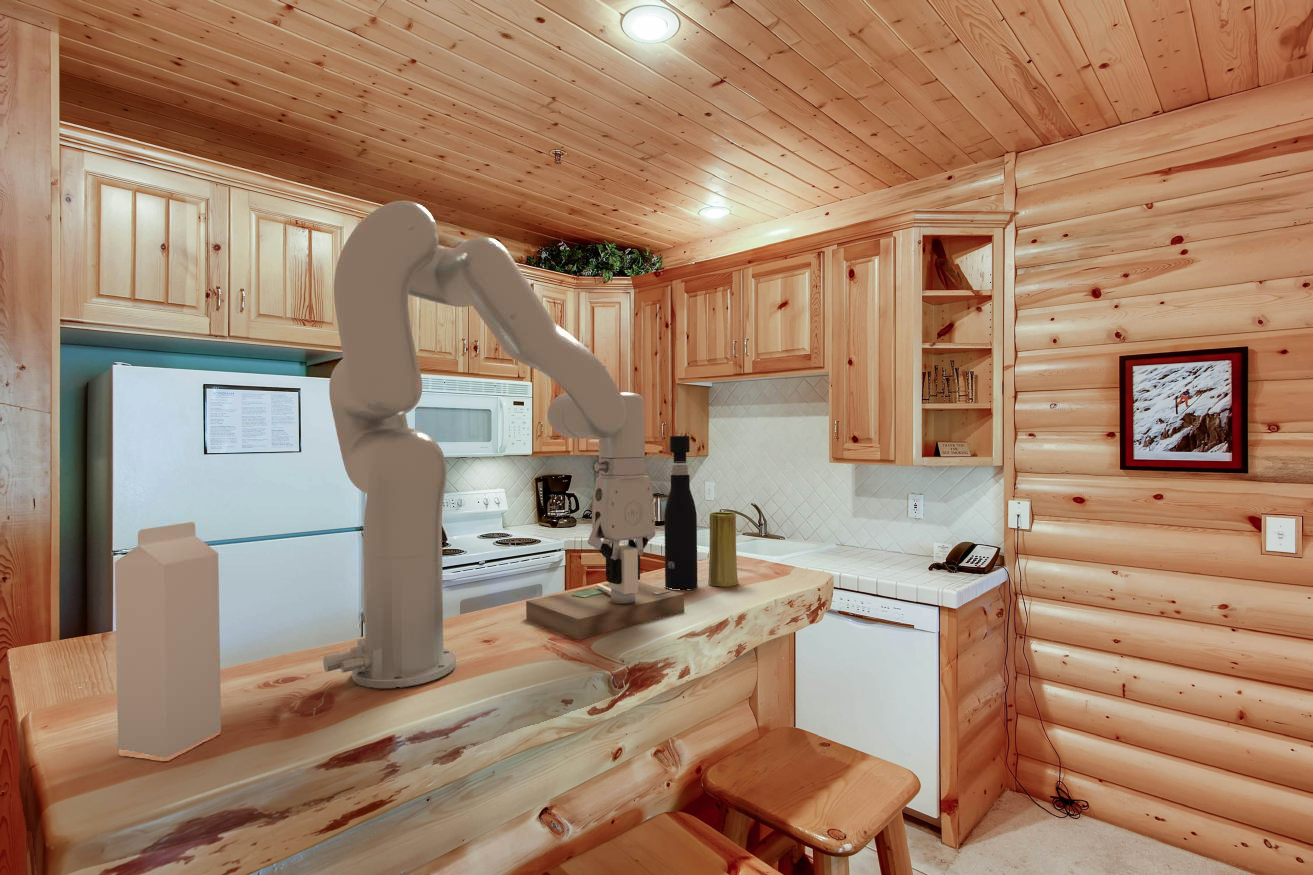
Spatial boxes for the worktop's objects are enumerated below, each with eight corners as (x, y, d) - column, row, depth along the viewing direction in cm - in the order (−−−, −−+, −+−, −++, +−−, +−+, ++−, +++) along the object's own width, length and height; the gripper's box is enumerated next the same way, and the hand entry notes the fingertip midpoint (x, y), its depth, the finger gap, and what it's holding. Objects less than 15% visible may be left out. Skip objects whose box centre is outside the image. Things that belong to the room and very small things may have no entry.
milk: (221, 735, 68) (220, 522, 68) (165, 763, 62) (164, 530, 62) (174, 729, 69) (173, 520, 69) (115, 756, 63) (113, 528, 63)
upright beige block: (642, 602, 106) (641, 548, 106) (620, 606, 104) (619, 550, 104) (608, 586, 117) (608, 537, 117) (587, 589, 115) (587, 539, 115)
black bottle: (698, 583, 133) (696, 435, 133) (696, 590, 127) (695, 435, 126) (666, 582, 134) (664, 436, 133) (663, 590, 127) (662, 436, 127)
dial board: (579, 639, 98) (578, 617, 98) (526, 618, 109) (526, 599, 109) (684, 611, 112) (684, 592, 112) (628, 595, 124) (628, 578, 124)
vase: (723, 578, 137) (722, 510, 137) (744, 583, 132) (744, 513, 132) (702, 583, 133) (701, 513, 133) (723, 588, 128) (722, 515, 128)
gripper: (595, 471, 99) (596, 593, 99) (674, 467, 110) (675, 576, 110) (567, 470, 104) (568, 585, 104) (645, 465, 115) (646, 570, 115)
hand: (623, 579), depth 107 cm, fingers closed on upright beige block, 3 cm apart
